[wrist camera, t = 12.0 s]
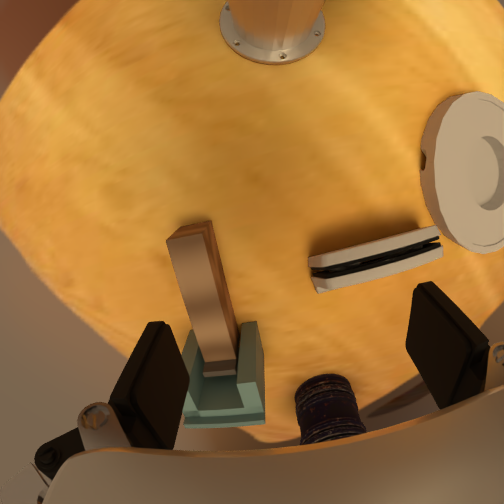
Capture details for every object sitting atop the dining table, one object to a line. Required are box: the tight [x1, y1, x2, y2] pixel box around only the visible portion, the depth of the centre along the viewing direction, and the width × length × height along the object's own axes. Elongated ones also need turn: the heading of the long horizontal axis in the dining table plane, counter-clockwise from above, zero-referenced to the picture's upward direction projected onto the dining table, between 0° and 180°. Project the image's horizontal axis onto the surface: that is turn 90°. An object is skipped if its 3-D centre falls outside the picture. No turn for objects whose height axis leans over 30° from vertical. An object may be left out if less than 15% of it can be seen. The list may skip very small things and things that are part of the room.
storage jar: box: [295, 374, 367, 445], centre depth 36 cm, size 10×10×15 cm
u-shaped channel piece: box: [181, 321, 265, 428], centre depth 34 cm, size 6×10×13 cm, turn 101°
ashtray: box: [420, 91, 504, 254], centre depth 30 cm, size 23×23×4 cm
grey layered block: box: [308, 225, 443, 294], centre depth 32 cm, size 17×5×10 cm, turn 105°
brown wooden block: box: [166, 221, 240, 377], centre depth 34 cm, size 17×4×8 cm, turn 11°
